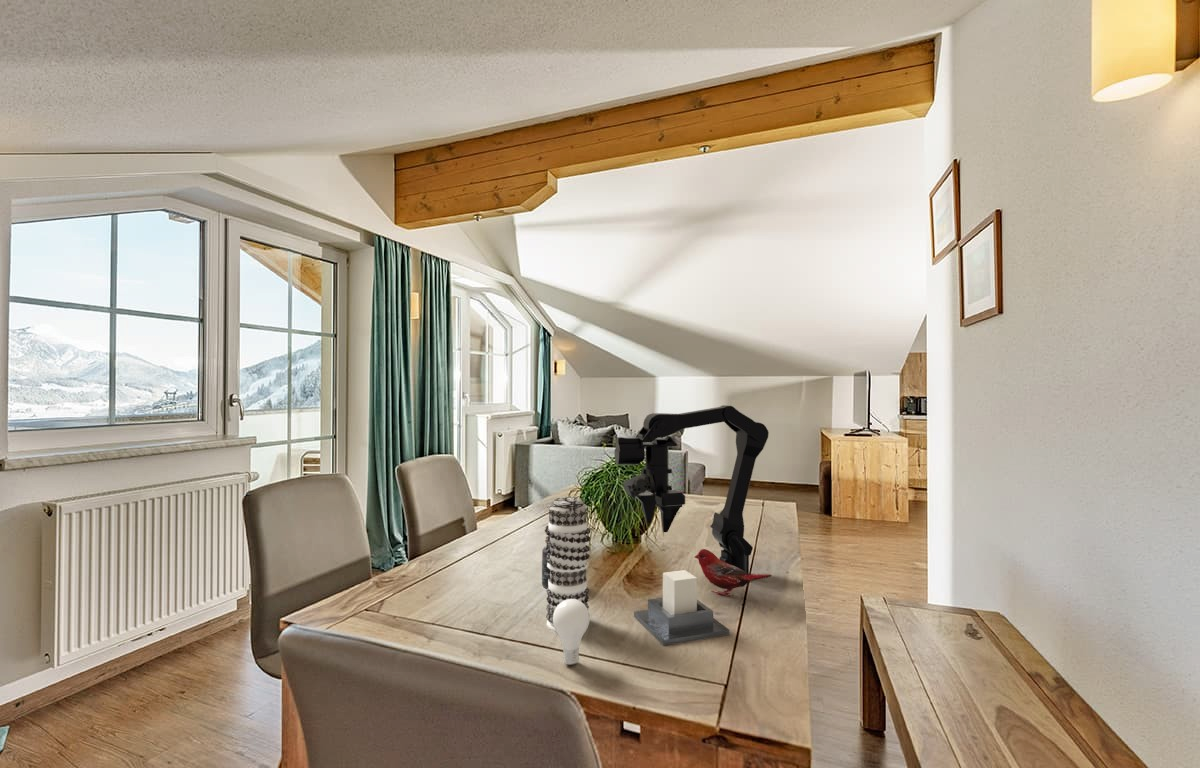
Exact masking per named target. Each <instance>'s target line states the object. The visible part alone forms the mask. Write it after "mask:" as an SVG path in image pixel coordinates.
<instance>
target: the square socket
mask: <svg viewBox="0 0 1200 768" xmlns="http://www.w3.org/2000/svg"><path fill="white" fill-rule="evenodd" d="M633 618H635V619H636V620H637V621H638V622H639V623H640V624H641V625H642V626H643V627H644V628H645V629H646V630H647V631H648V632H649V633H650V634H651V635H652V636H653V637H654V638H655V639H656V640H657V641H658V642H659V643H660V645H662V646H671V645H677V644H682V643H687V642H694V641H700V640H708V639H713V638H719V637H726V636H730V629H729V628H728V627H726V626H725V625H724V624H722V623H721V622H720V621H719V620H717V619H715V617H714V611H713V610H712V609H711V608H709V606H707V605H706V604H704V603H703V602H702V601H700V600H698V599H697V611H696V612H689V613H682V614H675V615H671V614H669V613H668V612H667V611H666V610H665V609H664V608H663V597H657V598H656V597H655V598H652V599H651V598H650V599H647V609H642V610H635V611H633Z"/></svg>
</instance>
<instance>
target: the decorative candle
mask: <svg viewBox="0 0 1200 768" xmlns="http://www.w3.org/2000/svg"><path fill="white" fill-rule="evenodd" d="M588 508H589V507H588V505H586V504H585V503H584V502H583V500H582V499H581V498H578V497H574V496H561V497H558V498H555V499H553V501H551V504H550V505H548V506H547V509H548V510H549V513H548V514H549V515H548V518H549V520H548V525H546V527H545V529H544V532H545V535H546V537H545V544H546V543H547V544H546V546H545V547H546V548H545V549H546V550H547V553H548V554H547V557H546V560H547V562H548V563H547V567H548V568H549V580H548V588H546V593H547V597H546V602H547V603H548V604H547V605H546V607H545V609H546V612H547V613H546V615H545V616H546V627H547V628H548V629H549V630H551V631H553V632H556V630H555V628H554V625H553V613H554V610H555V608H556V607H557V606H558V604H559V603H561V602H562V601H564V600H566V599H577V600H579V601H581V602H582V603H584V605H585V606H586V607H587V609H588V610H589V608H590V606H589V603H588V602H589V599H590V598H589V596H588V594H589V591H590V589H589V587H588V578H587V568H589V561H587V560H588V559H590V556H591V555H590V554H589V553H588V552H589V551H590V548H591V547H590V546H589V545H588V544H587V543H588V542H590V540H591V537H590V536H589V534H590V533H591V531H592V530H591V528H589V527H588V520H587V509H588Z"/></svg>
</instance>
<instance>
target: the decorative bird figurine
mask: <svg viewBox="0 0 1200 768" xmlns="http://www.w3.org/2000/svg"><path fill="white" fill-rule="evenodd" d="M694 558H695V559H697V560H698V564H699V565H700V568H701V570H702V573H703V575H704V577H705V578H706V579H707V580H708V581H709V582H710V583H711V584H713V586H716V587H718V588H720V589H723V590H724V591H719V590H718V591H714V590H711V593H715V594H717V595H721V596H728V597H730V596H734V594H733V593H731V591H733V590H734V589H737V588H743V587H745V586H746V585H748V584H749V583H752V581H756V580H760V579H765V578H766V579H767V578H771V577H772V576H773V575H772V574H751V575H749V574H750V573H749V574H748V573H746V572H745V571H743V570H741V569H739V568H737V567H735V566H733V565H730V564H728V563H725V562H723V561H721V560H720V558H719V557H717V555H716V554H714V553H713V552H712V551H710V550H708V549H706V548H703V549H702V548H701V549H700V550H699V551H698V553H697V554H696V555H695V556H694Z"/></svg>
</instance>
